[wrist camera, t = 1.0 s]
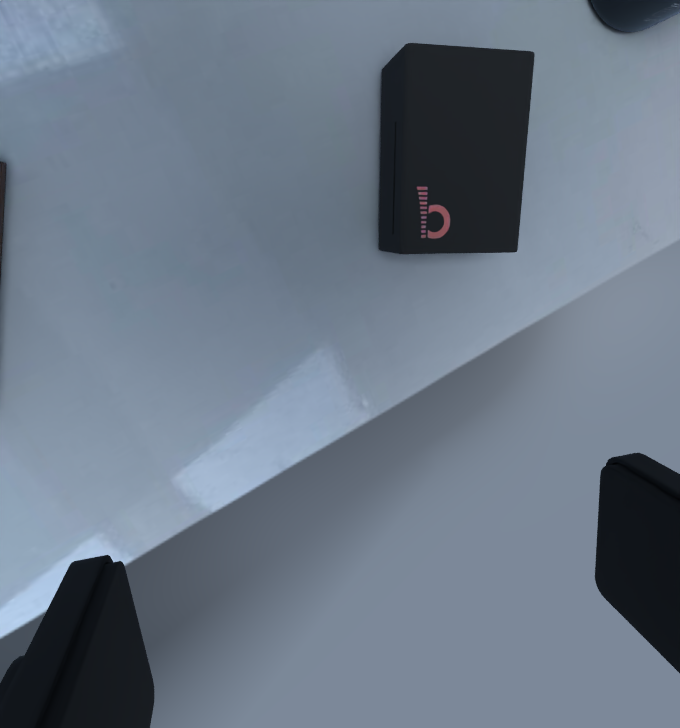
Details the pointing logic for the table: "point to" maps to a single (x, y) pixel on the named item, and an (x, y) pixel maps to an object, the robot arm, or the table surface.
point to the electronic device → (453, 149)
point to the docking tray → (2, 203)
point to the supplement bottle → (635, 13)
